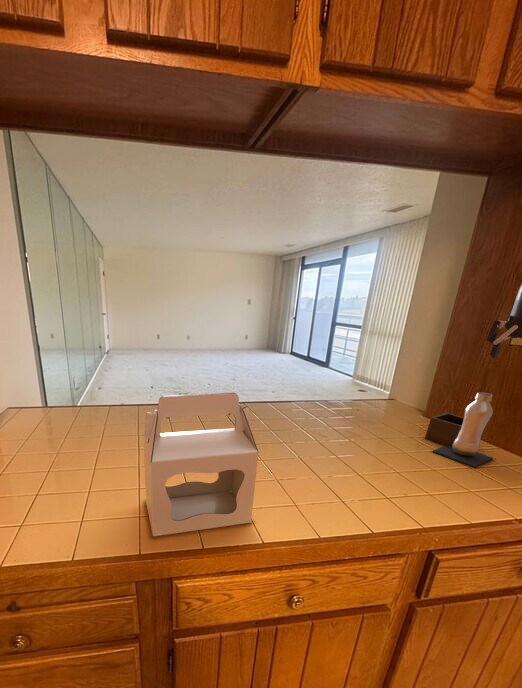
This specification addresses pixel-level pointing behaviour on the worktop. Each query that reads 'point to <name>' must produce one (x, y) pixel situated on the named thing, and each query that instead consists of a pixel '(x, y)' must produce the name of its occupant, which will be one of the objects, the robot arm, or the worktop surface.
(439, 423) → the holder
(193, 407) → the gable box
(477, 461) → the mat
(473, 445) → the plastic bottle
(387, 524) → the worktop surface
